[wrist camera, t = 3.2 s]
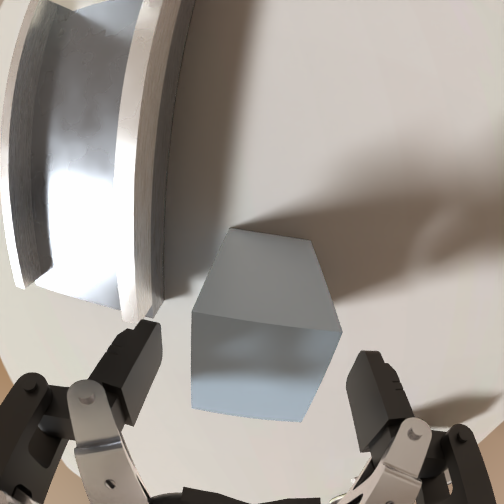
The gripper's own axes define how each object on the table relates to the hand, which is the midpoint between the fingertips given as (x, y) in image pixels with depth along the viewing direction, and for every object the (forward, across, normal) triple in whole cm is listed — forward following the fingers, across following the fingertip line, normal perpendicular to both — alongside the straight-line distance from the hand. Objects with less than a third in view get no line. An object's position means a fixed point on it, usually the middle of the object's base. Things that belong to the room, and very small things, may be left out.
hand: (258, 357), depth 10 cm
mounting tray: (+6, +11, -11) cm, 17 cm away
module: (+6, 0, 0) cm, 7 cm away
